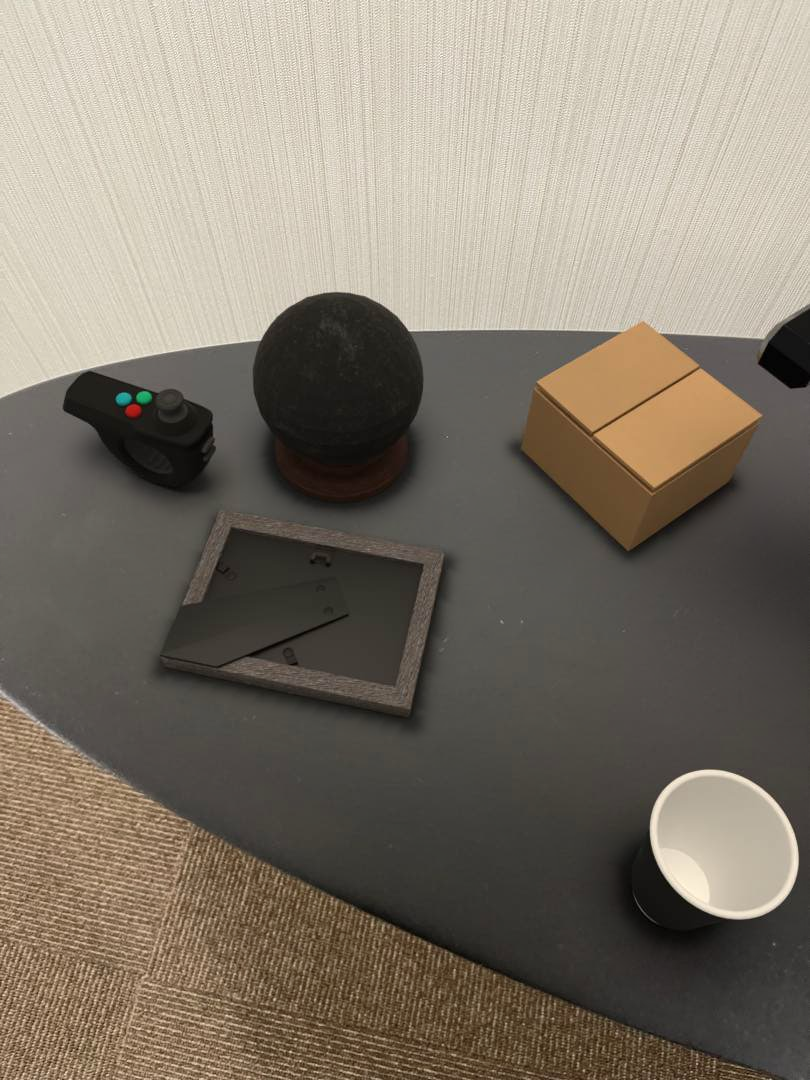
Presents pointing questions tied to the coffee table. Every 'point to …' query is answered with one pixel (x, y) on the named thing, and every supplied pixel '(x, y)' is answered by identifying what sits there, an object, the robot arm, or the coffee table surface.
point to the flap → (676, 428)
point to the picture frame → (308, 612)
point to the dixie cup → (714, 853)
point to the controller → (145, 427)
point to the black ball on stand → (338, 394)
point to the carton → (597, 401)
